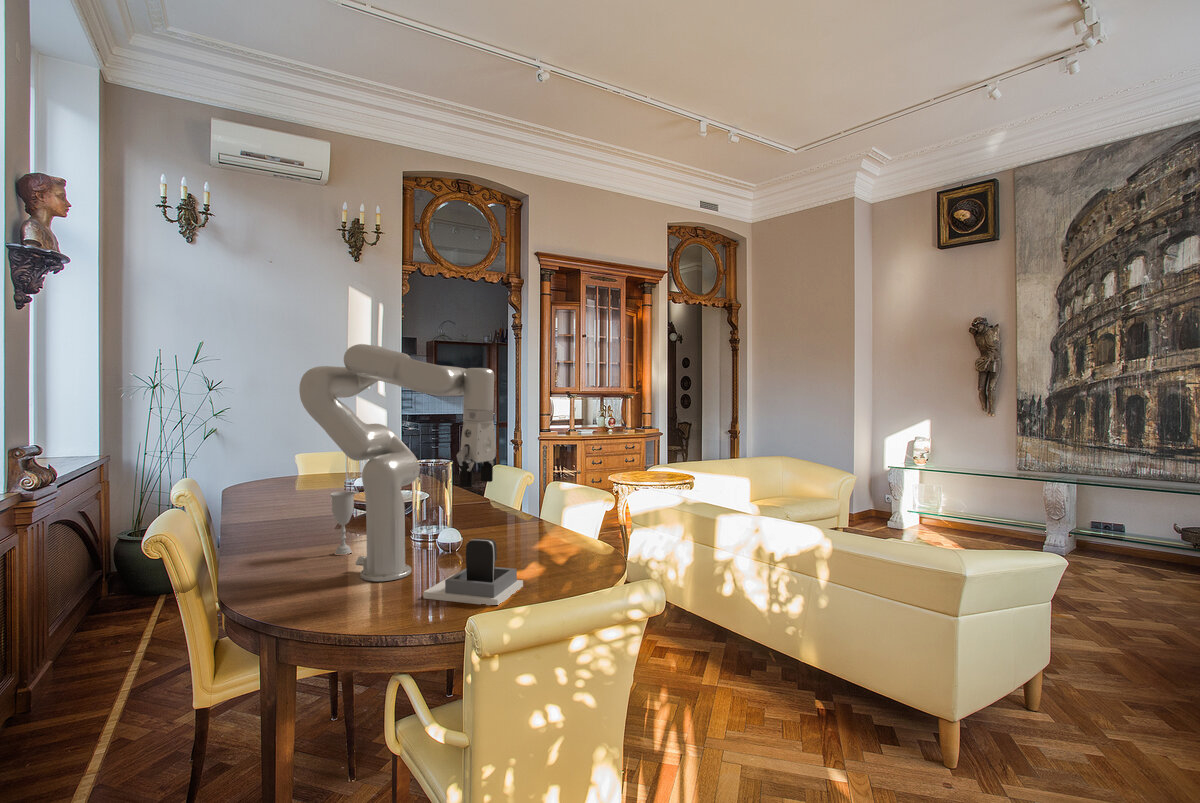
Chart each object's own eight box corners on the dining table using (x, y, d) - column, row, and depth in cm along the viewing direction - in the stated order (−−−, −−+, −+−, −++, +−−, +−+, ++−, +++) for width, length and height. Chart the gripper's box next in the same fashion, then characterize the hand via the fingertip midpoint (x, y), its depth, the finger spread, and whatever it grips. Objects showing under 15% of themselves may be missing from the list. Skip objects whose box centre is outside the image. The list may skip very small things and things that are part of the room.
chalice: (361, 552, 178) (360, 492, 178) (340, 558, 173) (339, 496, 172) (346, 549, 182) (345, 490, 182) (325, 554, 177) (324, 493, 176)
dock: (423, 598, 139) (423, 579, 139) (454, 579, 153) (454, 562, 152) (497, 606, 134) (497, 586, 134) (522, 586, 147) (522, 568, 147)
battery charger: (498, 584, 144) (498, 537, 144) (492, 589, 140) (492, 541, 140) (472, 582, 145) (471, 536, 145) (465, 587, 142) (464, 540, 142)
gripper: (473, 418, 142) (471, 490, 142) (507, 416, 158) (506, 480, 158) (446, 417, 144) (444, 488, 145) (482, 414, 161) (481, 478, 161)
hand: (476, 484), depth 152 cm, fingers open, 9 cm apart
